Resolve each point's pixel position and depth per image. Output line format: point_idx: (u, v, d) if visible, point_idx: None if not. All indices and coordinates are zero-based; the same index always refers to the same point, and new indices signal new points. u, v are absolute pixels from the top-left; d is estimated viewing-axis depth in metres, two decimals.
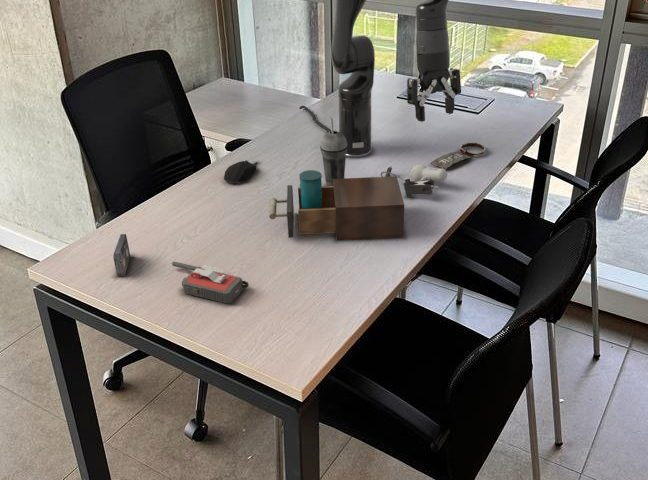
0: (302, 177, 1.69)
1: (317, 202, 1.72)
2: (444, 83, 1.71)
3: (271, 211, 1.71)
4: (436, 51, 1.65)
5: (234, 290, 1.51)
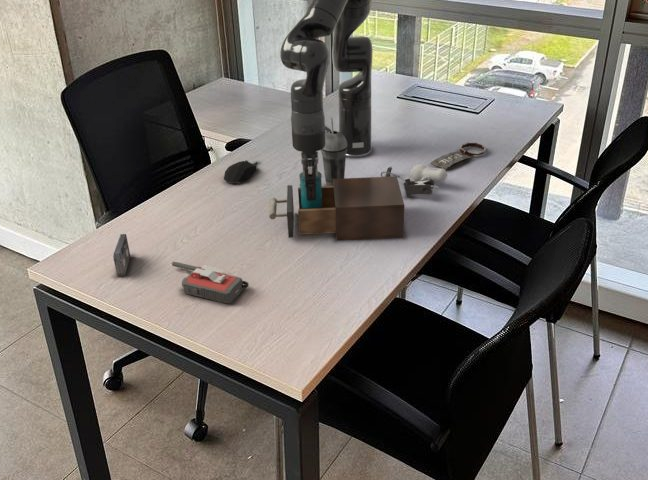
0: (302, 177, 1.69)
1: (317, 202, 1.72)
2: None
3: (271, 211, 1.71)
4: None
5: (234, 290, 1.51)
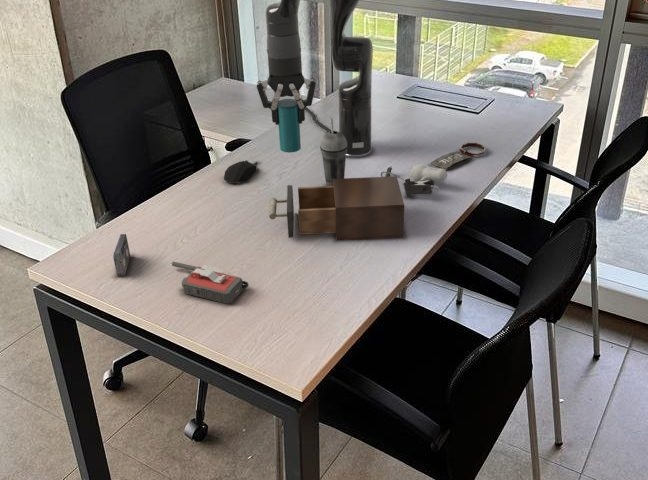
0: (292, 105, 1.69)
1: None
2: (293, 89, 1.67)
3: (271, 211, 1.71)
4: (277, 57, 1.61)
5: (234, 290, 1.51)
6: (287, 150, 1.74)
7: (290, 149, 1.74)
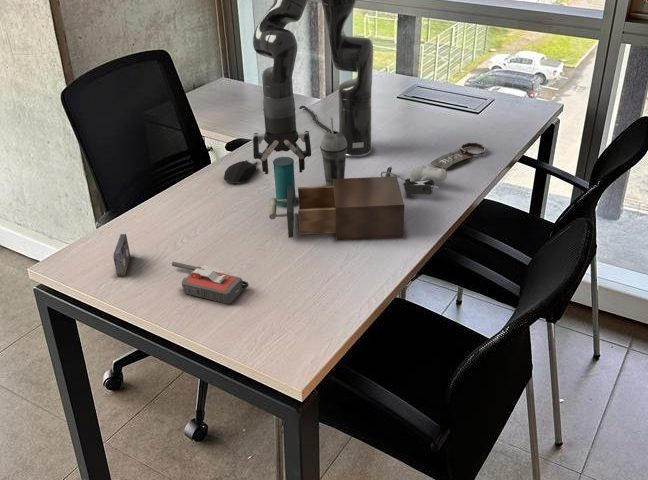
0: (287, 164, 1.80)
1: None
2: (288, 145, 1.78)
3: (271, 211, 1.71)
4: (272, 117, 1.72)
5: (234, 290, 1.51)
6: (283, 204, 1.86)
7: (286, 203, 1.85)
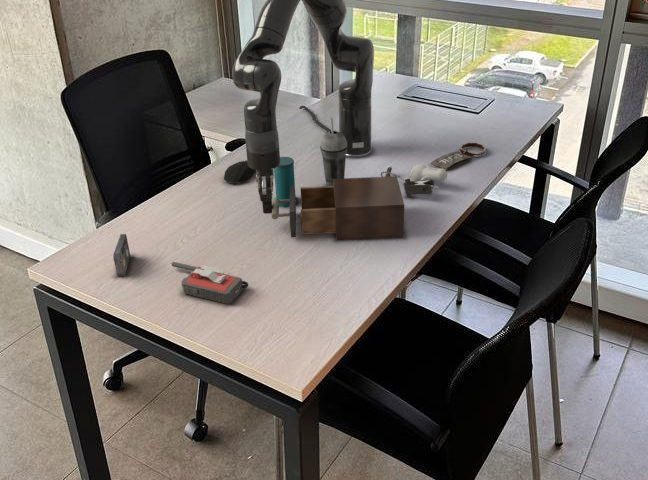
0: (287, 164, 1.80)
1: None
2: None
3: (274, 211, 1.71)
4: (277, 147, 1.64)
5: (234, 291, 1.51)
6: (283, 204, 1.86)
7: (286, 203, 1.85)
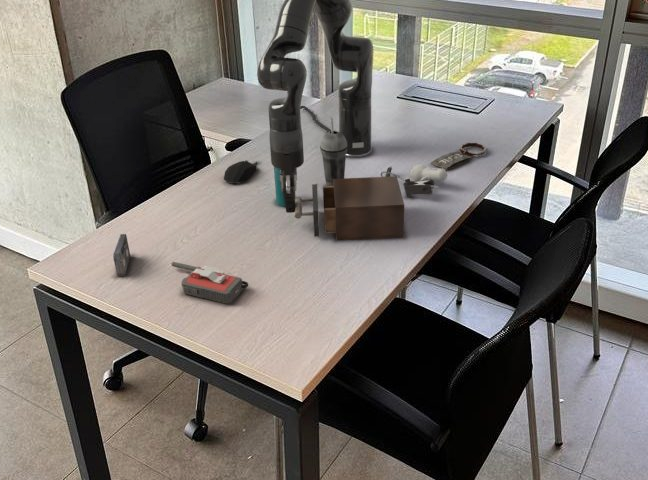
0: None
1: None
2: None
3: (297, 210, 1.72)
4: (301, 147, 1.65)
5: (234, 291, 1.51)
6: (283, 204, 1.86)
7: None
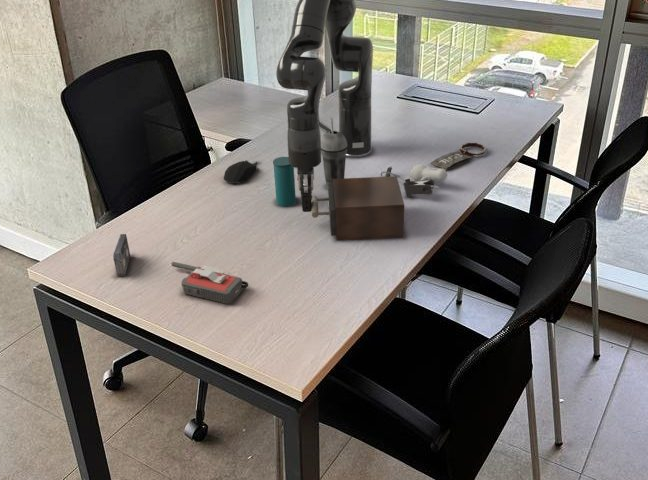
0: (287, 164, 1.80)
1: None
2: None
3: (314, 209, 1.72)
4: (319, 146, 1.65)
5: (234, 291, 1.51)
6: (283, 204, 1.86)
7: (286, 203, 1.85)
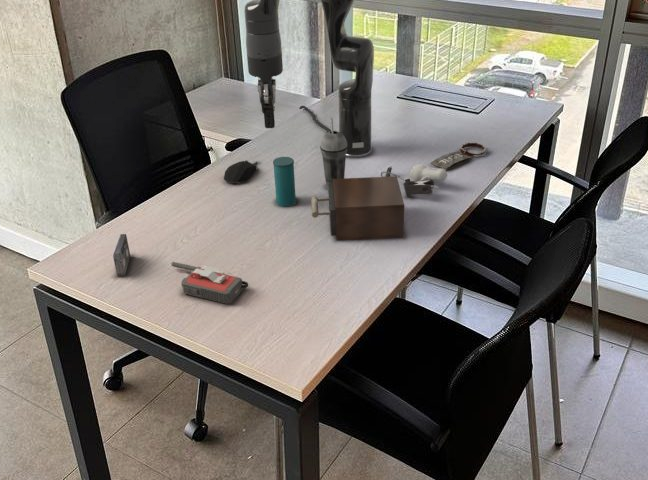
0: (287, 164, 1.80)
1: None
2: None
3: (314, 209, 1.72)
4: (279, 53, 1.56)
5: (234, 291, 1.51)
6: (283, 204, 1.86)
7: (286, 203, 1.85)
